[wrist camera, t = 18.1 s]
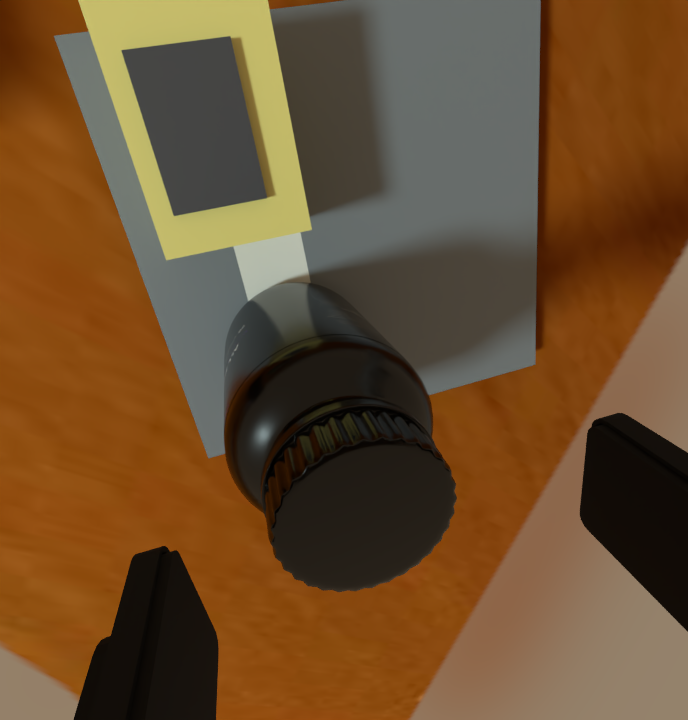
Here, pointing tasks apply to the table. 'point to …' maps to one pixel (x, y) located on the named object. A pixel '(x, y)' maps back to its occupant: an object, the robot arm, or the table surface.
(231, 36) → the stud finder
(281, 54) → the board
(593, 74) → the table surface
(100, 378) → the table surface
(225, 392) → the supplement bottle
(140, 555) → the robot arm
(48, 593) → the table surface
